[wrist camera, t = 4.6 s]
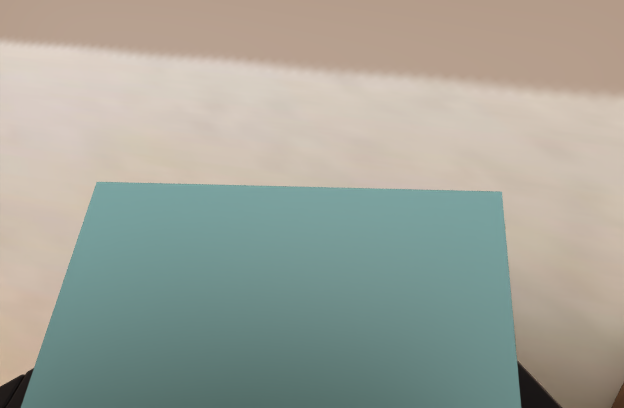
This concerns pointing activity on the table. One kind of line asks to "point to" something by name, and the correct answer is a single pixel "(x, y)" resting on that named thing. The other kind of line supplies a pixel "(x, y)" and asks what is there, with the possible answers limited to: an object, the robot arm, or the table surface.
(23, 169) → the table surface
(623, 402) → the tower lower
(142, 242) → the teal block
